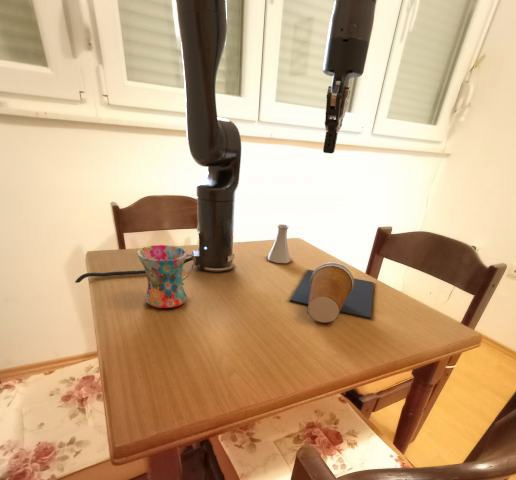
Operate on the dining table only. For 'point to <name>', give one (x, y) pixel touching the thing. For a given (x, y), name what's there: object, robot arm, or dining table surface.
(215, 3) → the robot arm
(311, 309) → the disposable coffee cup
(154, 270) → the mug
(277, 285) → the dining table surface
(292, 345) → the dining table surface
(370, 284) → the mat
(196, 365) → the dining table surface
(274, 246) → the flask
